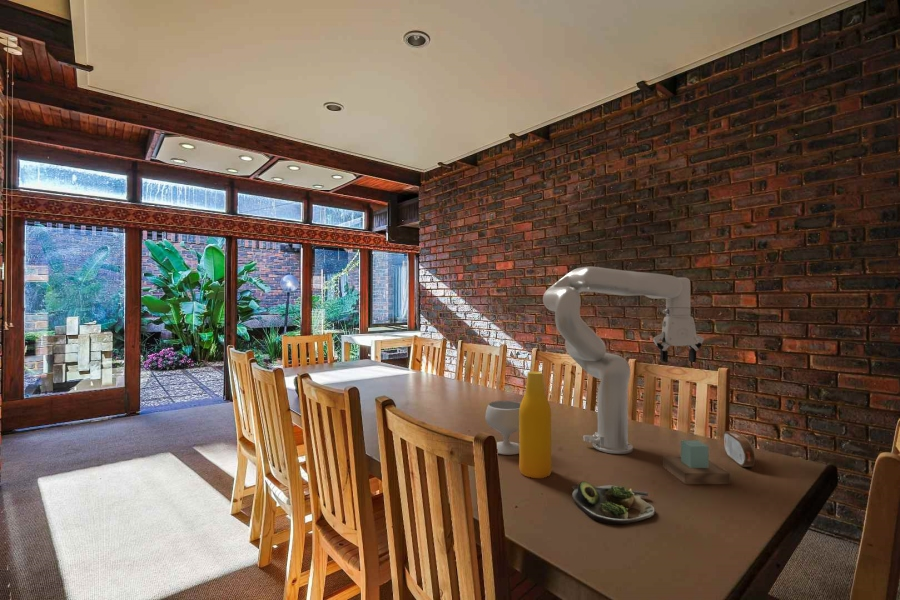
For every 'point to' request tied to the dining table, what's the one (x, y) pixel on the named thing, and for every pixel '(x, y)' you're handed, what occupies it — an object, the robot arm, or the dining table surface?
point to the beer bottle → (535, 429)
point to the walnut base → (696, 472)
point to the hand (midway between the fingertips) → (678, 361)
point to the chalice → (504, 423)
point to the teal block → (694, 454)
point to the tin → (739, 449)
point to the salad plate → (611, 503)
